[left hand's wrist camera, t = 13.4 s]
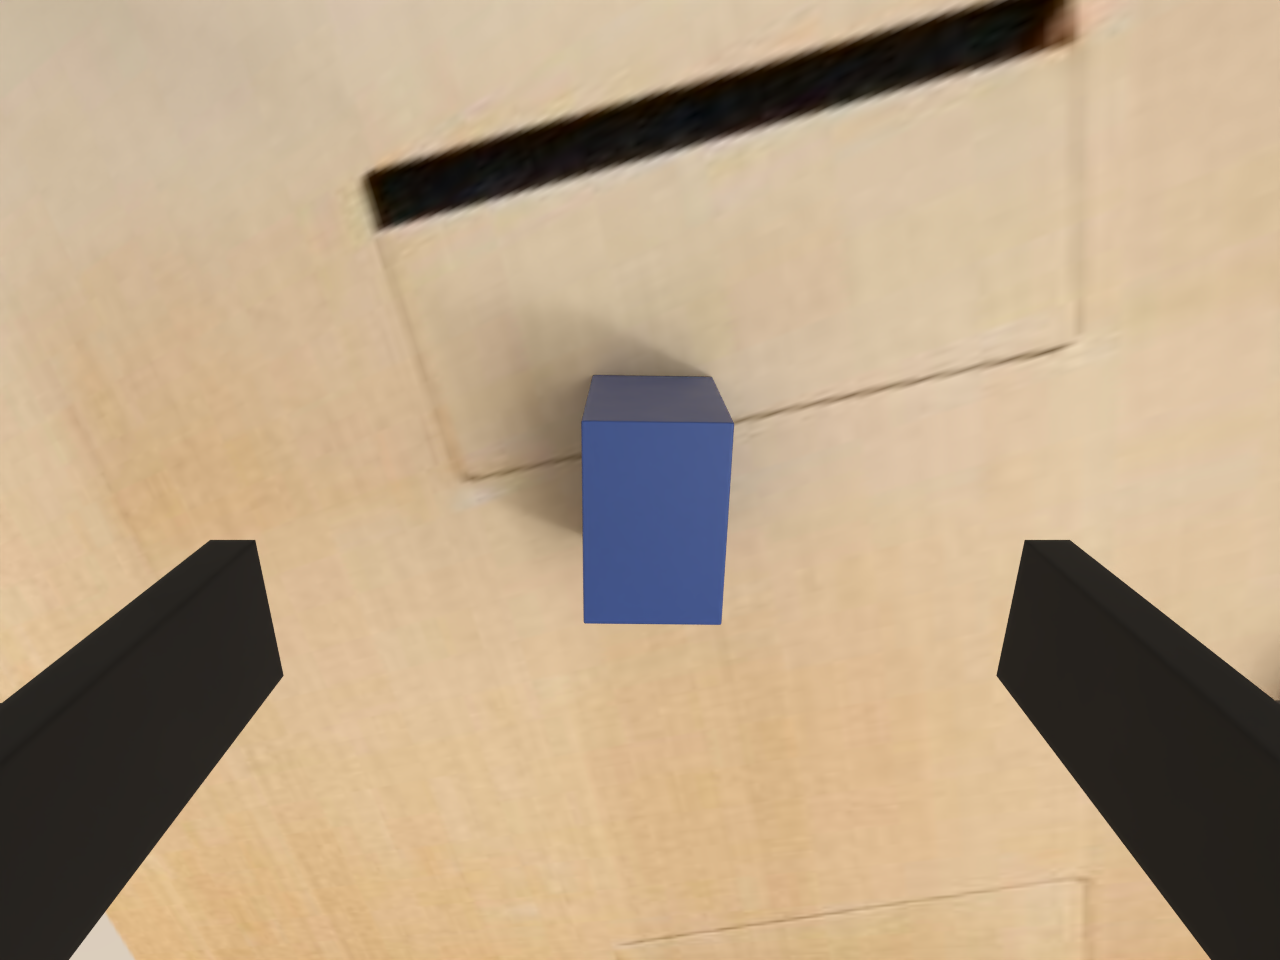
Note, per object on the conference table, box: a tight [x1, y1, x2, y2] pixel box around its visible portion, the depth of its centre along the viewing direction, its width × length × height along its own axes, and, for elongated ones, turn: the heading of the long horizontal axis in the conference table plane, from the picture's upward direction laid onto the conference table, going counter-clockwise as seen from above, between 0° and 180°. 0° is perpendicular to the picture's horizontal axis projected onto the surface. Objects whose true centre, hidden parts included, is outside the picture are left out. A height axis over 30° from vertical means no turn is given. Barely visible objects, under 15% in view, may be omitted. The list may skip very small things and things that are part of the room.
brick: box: [581, 375, 734, 625], centre depth 34 cm, size 9×6×8 cm, turn 179°
